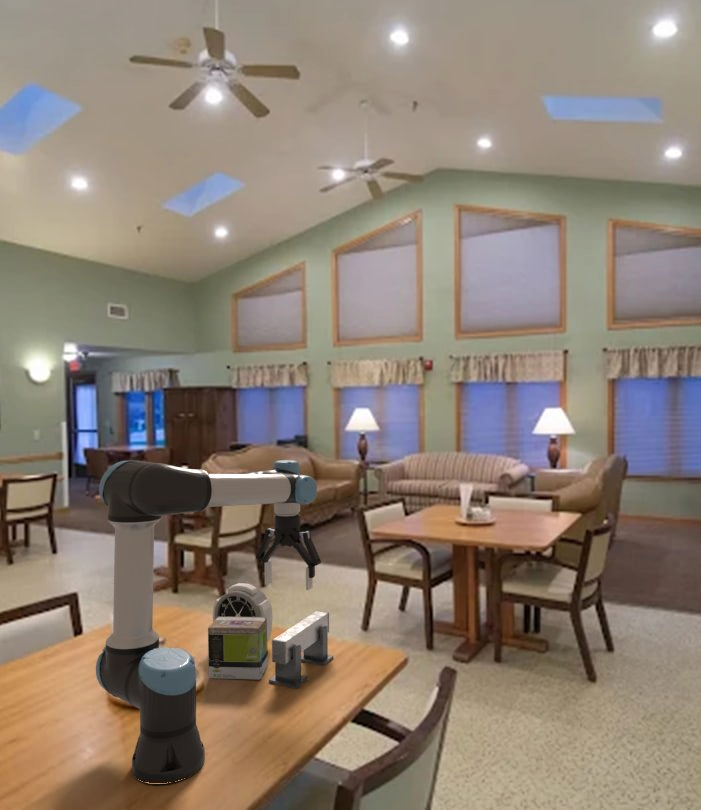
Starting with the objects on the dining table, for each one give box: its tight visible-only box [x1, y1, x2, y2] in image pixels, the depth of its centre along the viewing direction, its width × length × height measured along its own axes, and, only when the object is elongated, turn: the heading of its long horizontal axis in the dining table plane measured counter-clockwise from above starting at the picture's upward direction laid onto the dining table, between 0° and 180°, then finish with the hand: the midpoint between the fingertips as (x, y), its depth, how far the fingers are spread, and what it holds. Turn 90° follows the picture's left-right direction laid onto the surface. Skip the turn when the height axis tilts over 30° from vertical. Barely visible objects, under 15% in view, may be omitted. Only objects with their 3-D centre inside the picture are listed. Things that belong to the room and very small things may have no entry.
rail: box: [271, 609, 330, 665], centre depth 182 cm, size 26×4×6 cm, turn 155°
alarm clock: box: [212, 582, 273, 643], centre depth 198 cm, size 18×8×20 cm, turn 73°
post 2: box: [301, 626, 334, 667], centre depth 190 cm, size 6×9×10 cm, turn 65°
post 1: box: [268, 645, 309, 690], centre depth 175 cm, size 6×9×10 cm, turn 65°
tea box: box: [207, 617, 269, 681], centre depth 181 cm, size 15×10×15 cm, turn 84°
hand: (288, 586), depth 183 cm, fingers open, 13 cm apart
